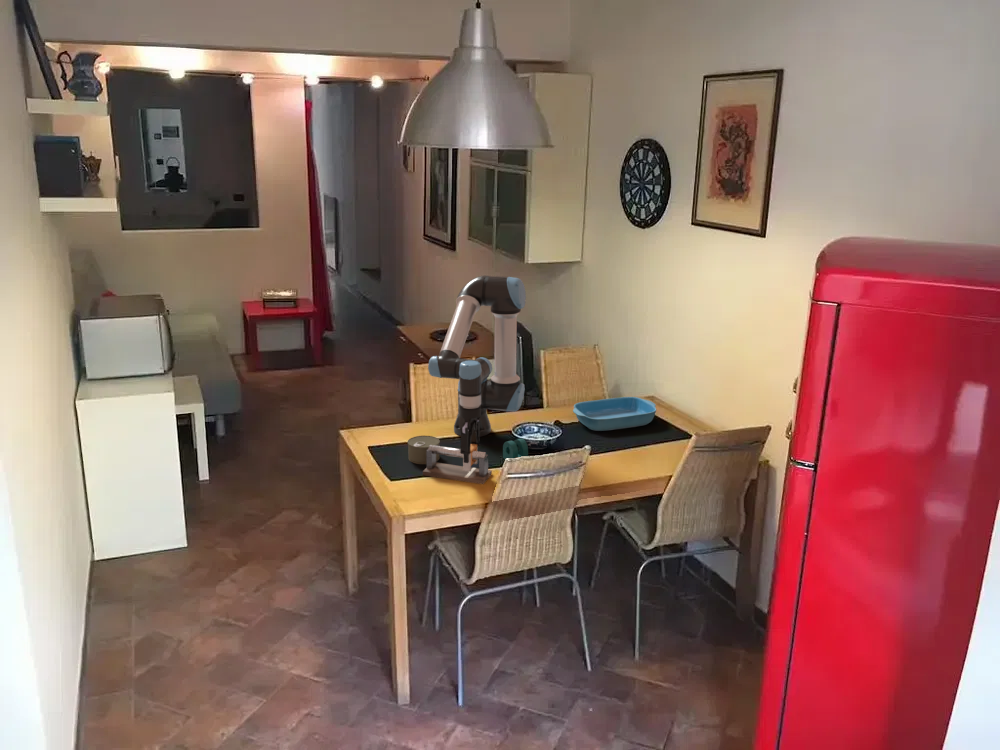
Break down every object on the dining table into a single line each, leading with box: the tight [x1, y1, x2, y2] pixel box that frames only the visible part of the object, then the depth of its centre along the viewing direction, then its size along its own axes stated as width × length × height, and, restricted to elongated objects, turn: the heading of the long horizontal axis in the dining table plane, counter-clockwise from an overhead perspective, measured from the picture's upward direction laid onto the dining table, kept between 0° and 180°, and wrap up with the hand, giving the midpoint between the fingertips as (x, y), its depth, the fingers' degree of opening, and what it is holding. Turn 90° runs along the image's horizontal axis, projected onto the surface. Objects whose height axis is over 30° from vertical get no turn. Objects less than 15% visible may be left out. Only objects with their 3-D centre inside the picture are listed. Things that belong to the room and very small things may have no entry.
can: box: [407, 435, 441, 465], centre depth 311 cm, size 12×12×7 cm
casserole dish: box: [572, 396, 657, 432], centre depth 350 cm, size 37×22×7 cm, turn 110°
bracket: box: [502, 437, 529, 460], centre depth 306 cm, size 18×7×8 cm, turn 33°
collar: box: [470, 444, 478, 467], centre depth 293 cm, size 6×3×6 cm, turn 162°
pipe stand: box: [422, 445, 493, 485], centre depth 296 cm, size 9×23×10 cm, turn 72°
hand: (470, 466), depth 295 cm, fingers closed on collar, 6 cm apart
